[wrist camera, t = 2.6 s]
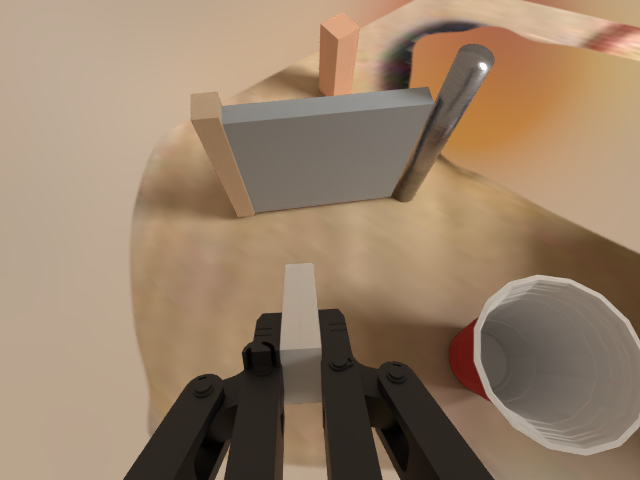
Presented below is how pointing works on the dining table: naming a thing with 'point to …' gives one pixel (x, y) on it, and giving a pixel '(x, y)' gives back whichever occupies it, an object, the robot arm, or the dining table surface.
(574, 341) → the plastic cup
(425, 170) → the gate post
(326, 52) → the post
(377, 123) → the panel
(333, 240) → the dining table surface
